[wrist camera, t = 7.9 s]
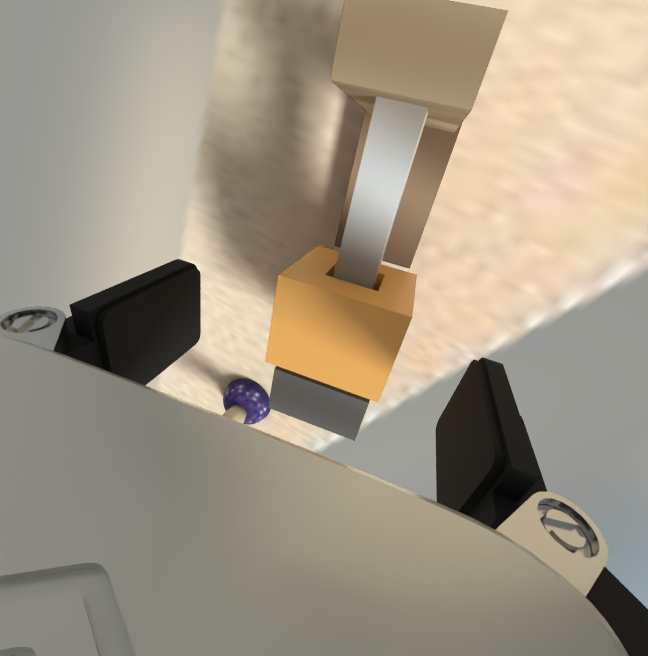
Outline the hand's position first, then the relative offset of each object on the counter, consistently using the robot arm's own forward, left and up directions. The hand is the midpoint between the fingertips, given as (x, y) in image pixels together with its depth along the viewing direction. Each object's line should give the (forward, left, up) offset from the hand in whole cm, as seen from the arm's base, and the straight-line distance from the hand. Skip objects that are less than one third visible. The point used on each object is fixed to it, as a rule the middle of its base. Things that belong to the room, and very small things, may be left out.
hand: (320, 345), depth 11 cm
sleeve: (+1, 0, -7) cm, 7 cm away
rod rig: (-2, 0, -11) cm, 11 cm away
